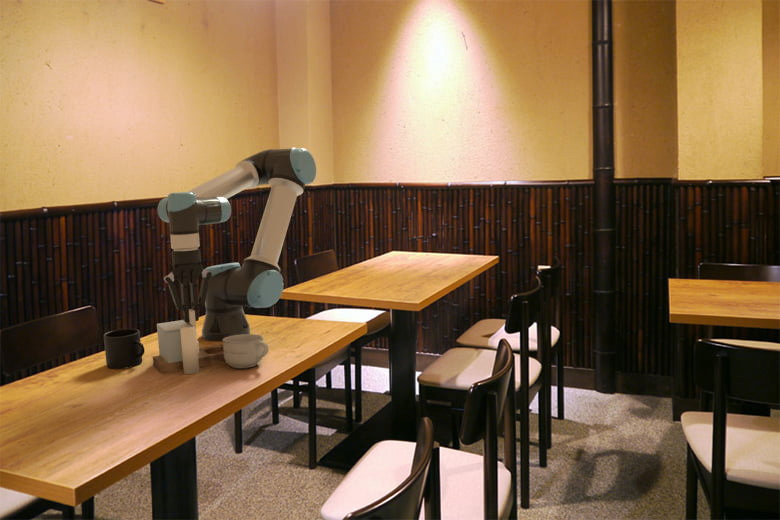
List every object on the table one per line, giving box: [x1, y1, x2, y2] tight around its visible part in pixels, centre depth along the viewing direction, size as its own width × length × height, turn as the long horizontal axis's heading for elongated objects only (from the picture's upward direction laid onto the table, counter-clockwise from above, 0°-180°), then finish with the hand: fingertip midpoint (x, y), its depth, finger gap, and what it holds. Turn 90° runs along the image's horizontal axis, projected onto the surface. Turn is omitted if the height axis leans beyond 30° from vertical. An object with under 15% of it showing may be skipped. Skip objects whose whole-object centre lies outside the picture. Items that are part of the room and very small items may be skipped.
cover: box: [156, 319, 192, 363], centre depth 185 cm, size 8×10×9 cm
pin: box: [180, 326, 200, 375], centre depth 179 cm, size 4×4×12 cm
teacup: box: [222, 333, 269, 369], centre depth 182 cm, size 14×11×8 cm
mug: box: [103, 328, 145, 370], centre depth 188 cm, size 9×12×9 cm
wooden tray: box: [152, 340, 227, 375], centre depth 187 cm, size 20×10×6 cm, turn 121°
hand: (192, 333), depth 187 cm, fingers closed
